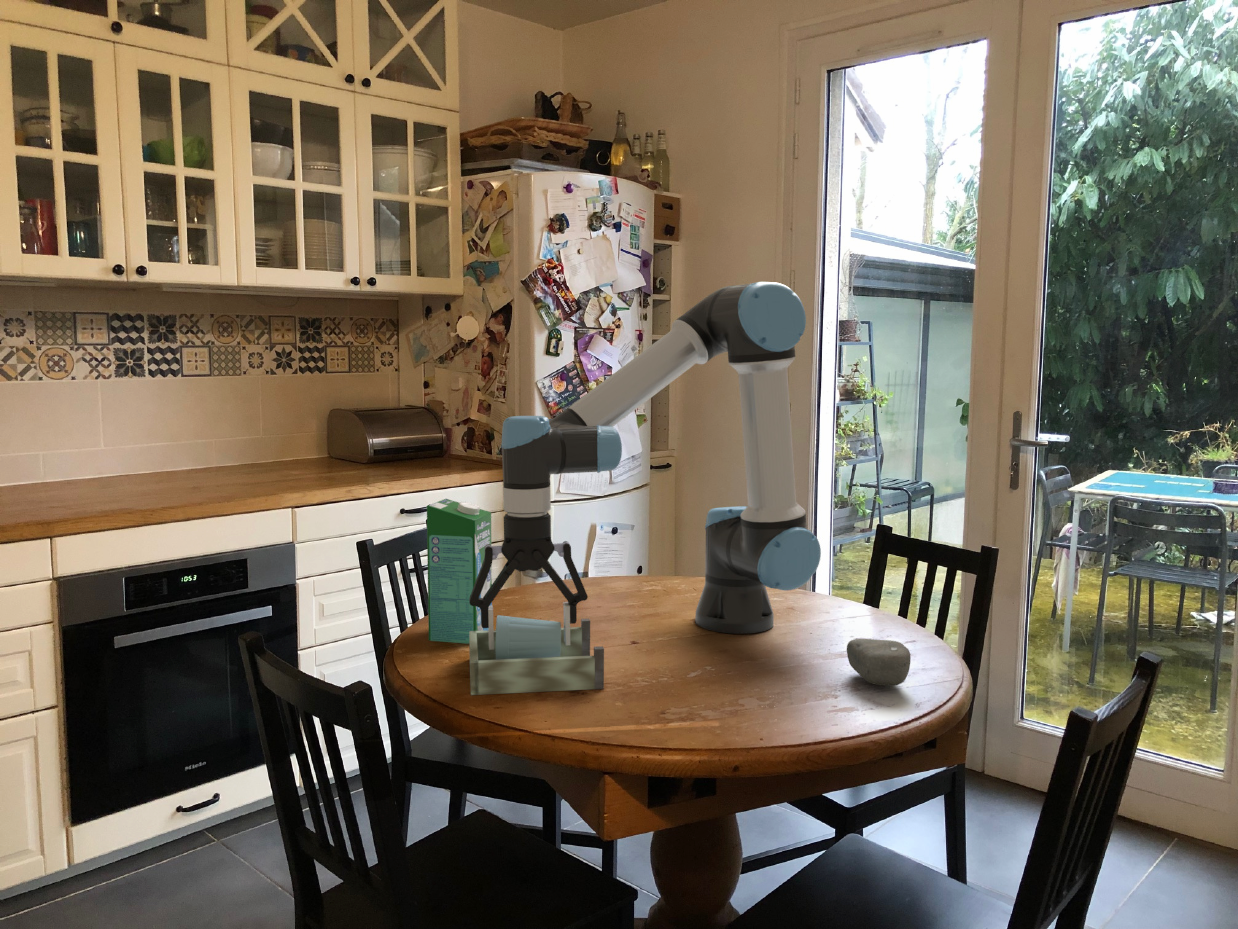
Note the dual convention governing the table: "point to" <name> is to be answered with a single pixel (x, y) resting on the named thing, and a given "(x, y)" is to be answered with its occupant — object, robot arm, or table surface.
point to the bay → (536, 666)
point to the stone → (879, 660)
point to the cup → (527, 638)
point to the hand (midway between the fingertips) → (529, 645)
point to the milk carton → (455, 568)
